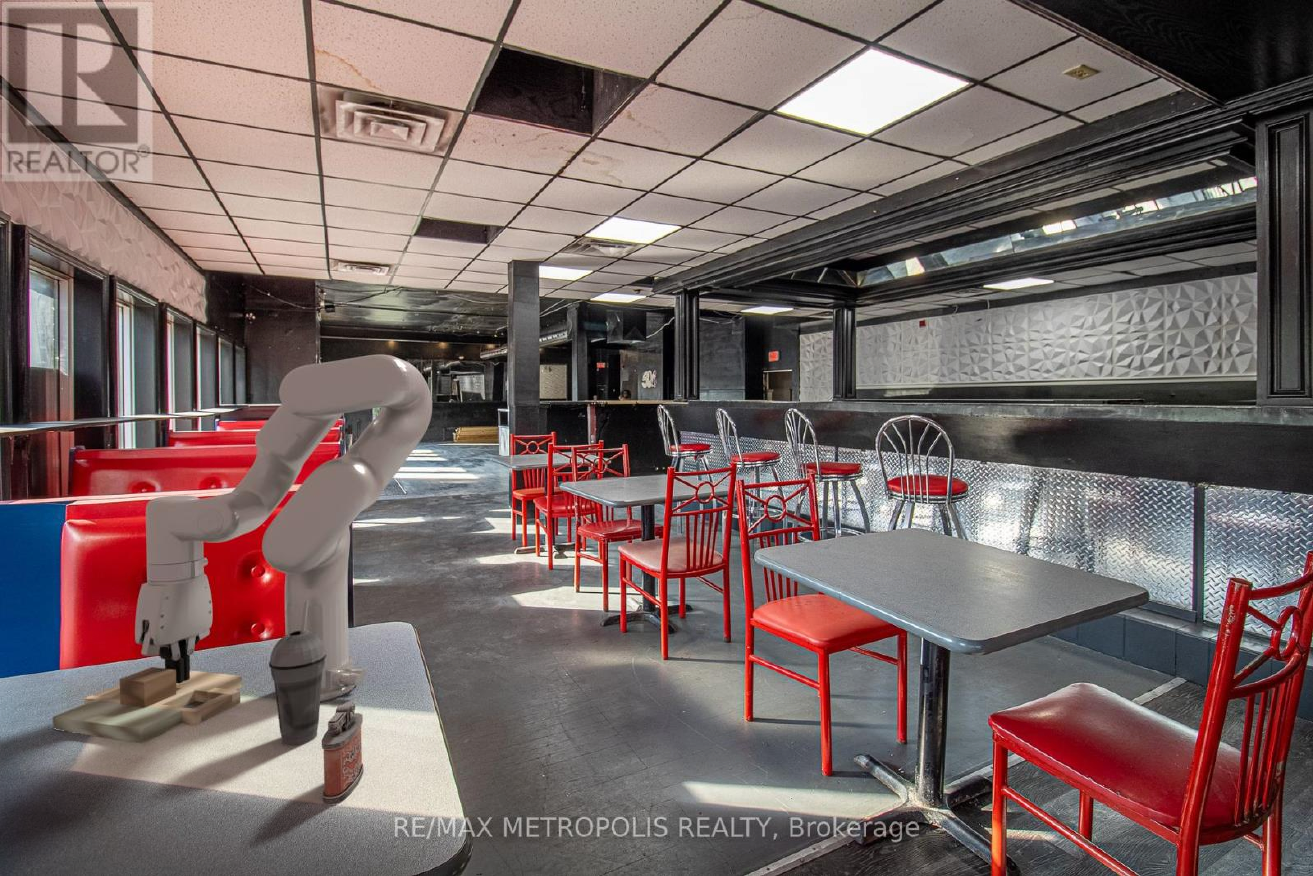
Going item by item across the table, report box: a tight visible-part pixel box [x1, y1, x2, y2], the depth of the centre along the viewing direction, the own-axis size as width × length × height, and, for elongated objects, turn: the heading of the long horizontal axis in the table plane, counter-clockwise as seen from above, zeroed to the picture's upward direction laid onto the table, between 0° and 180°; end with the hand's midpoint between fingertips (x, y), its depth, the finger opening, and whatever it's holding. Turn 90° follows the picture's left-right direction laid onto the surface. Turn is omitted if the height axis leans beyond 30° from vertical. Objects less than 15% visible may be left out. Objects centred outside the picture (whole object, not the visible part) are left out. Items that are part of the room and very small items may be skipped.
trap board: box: [52, 669, 243, 744], centre depth 103 cm, size 22×19×2 cm
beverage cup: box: [268, 601, 326, 746], centre depth 93 cm, size 7×7×20 cm
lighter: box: [321, 700, 365, 806], centre depth 81 cm, size 8×3×10 cm, turn 5°
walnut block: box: [119, 666, 176, 708], centre depth 102 cm, size 5×5×4 cm
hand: (177, 680), depth 107 cm, fingers closed
